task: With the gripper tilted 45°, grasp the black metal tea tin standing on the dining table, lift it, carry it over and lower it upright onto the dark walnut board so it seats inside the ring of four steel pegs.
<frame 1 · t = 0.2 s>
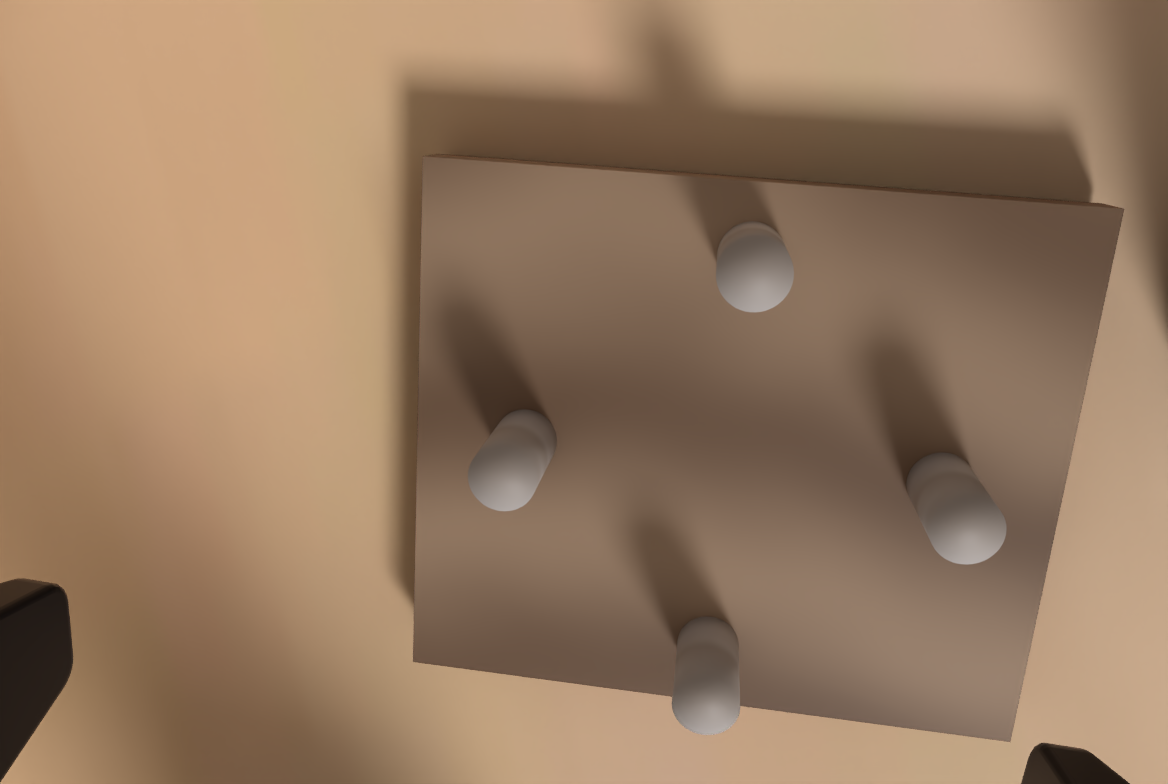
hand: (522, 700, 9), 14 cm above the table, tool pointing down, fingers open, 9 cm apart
peg board: (728, 443, 23), on the table
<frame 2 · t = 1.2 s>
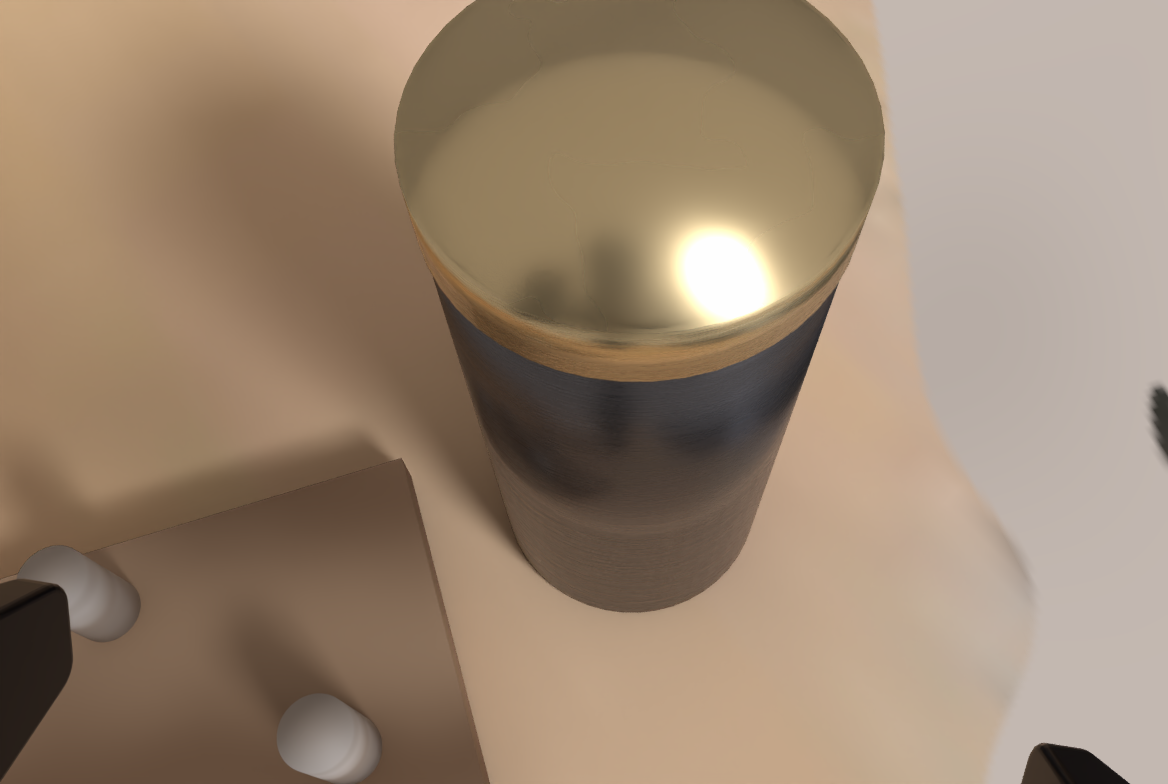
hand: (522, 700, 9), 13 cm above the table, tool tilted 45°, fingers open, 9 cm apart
tea tin: (630, 489, 24), on the table
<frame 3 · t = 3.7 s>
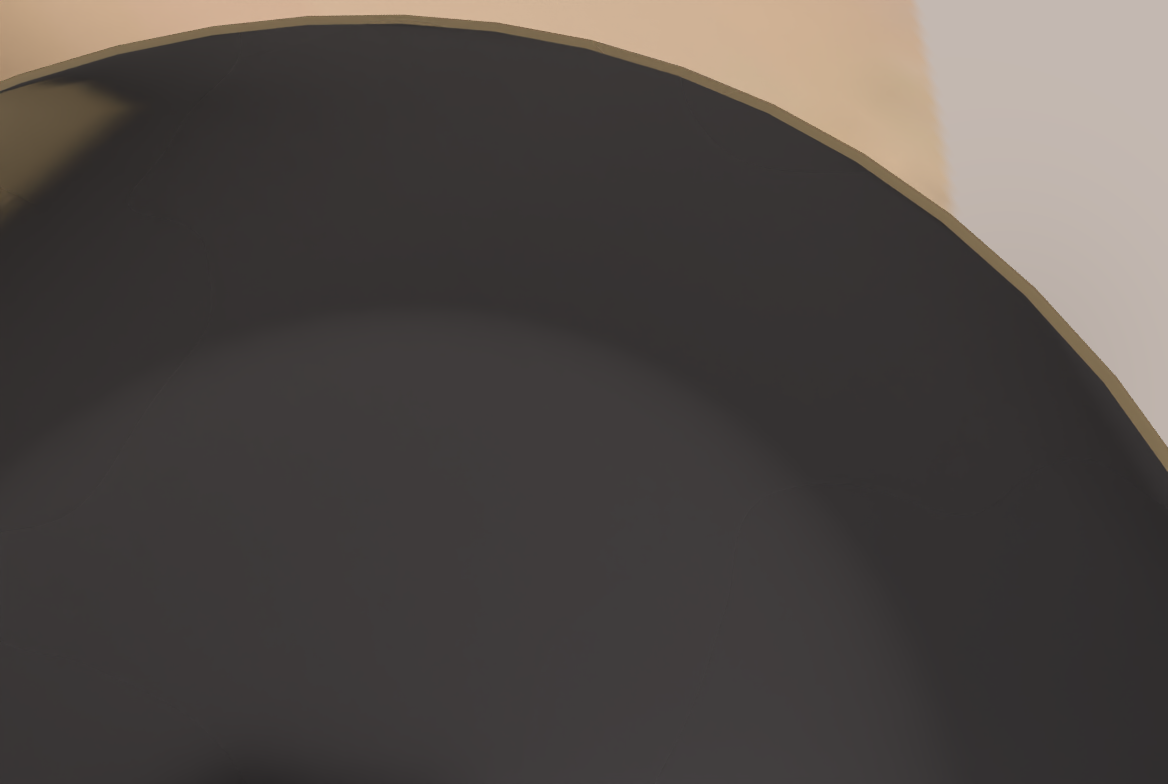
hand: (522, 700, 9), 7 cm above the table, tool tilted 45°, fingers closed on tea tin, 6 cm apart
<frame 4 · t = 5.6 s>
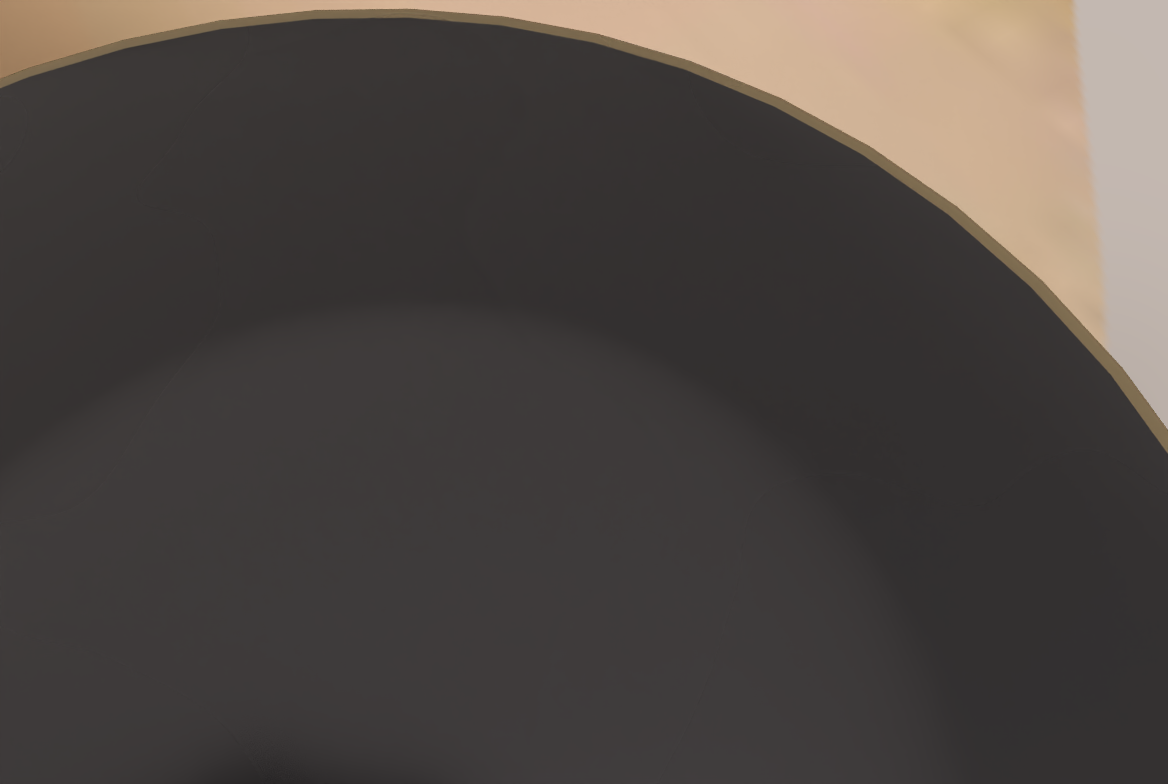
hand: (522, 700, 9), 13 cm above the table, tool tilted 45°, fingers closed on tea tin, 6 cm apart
when the fingers open (9 cm above the table, at t = 7.8 s): tea tin drops 1 cm, resting on peg board.
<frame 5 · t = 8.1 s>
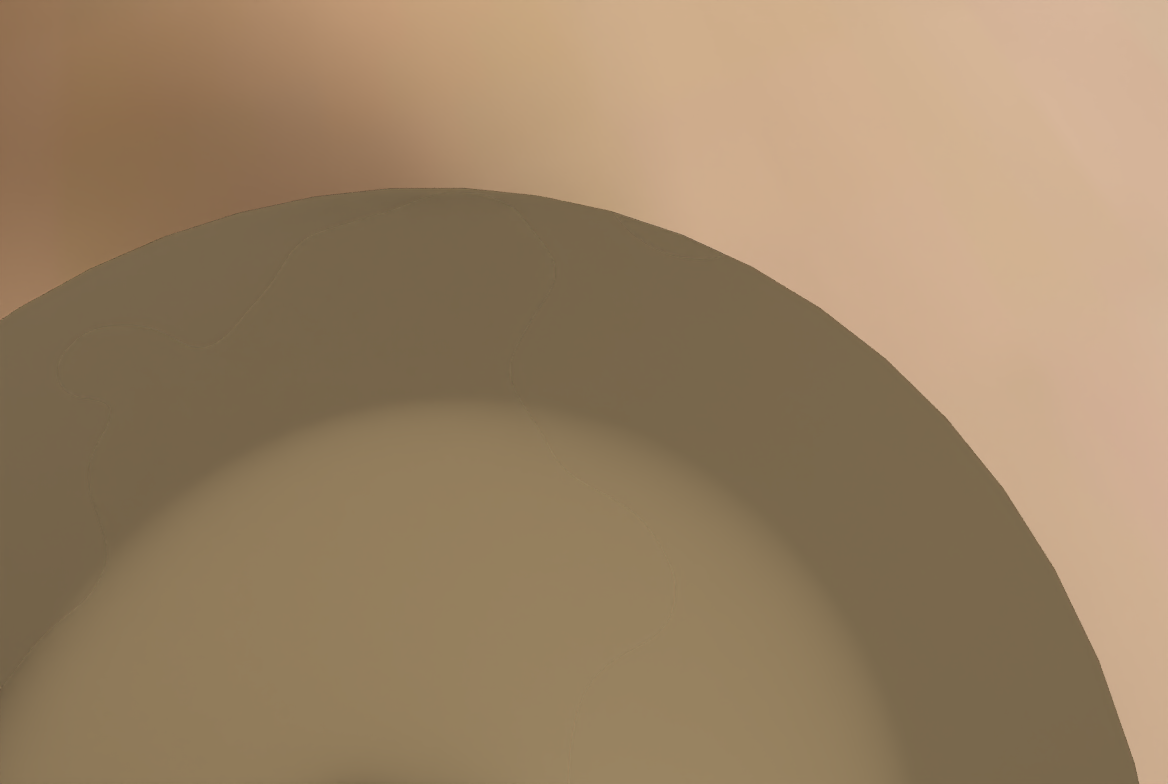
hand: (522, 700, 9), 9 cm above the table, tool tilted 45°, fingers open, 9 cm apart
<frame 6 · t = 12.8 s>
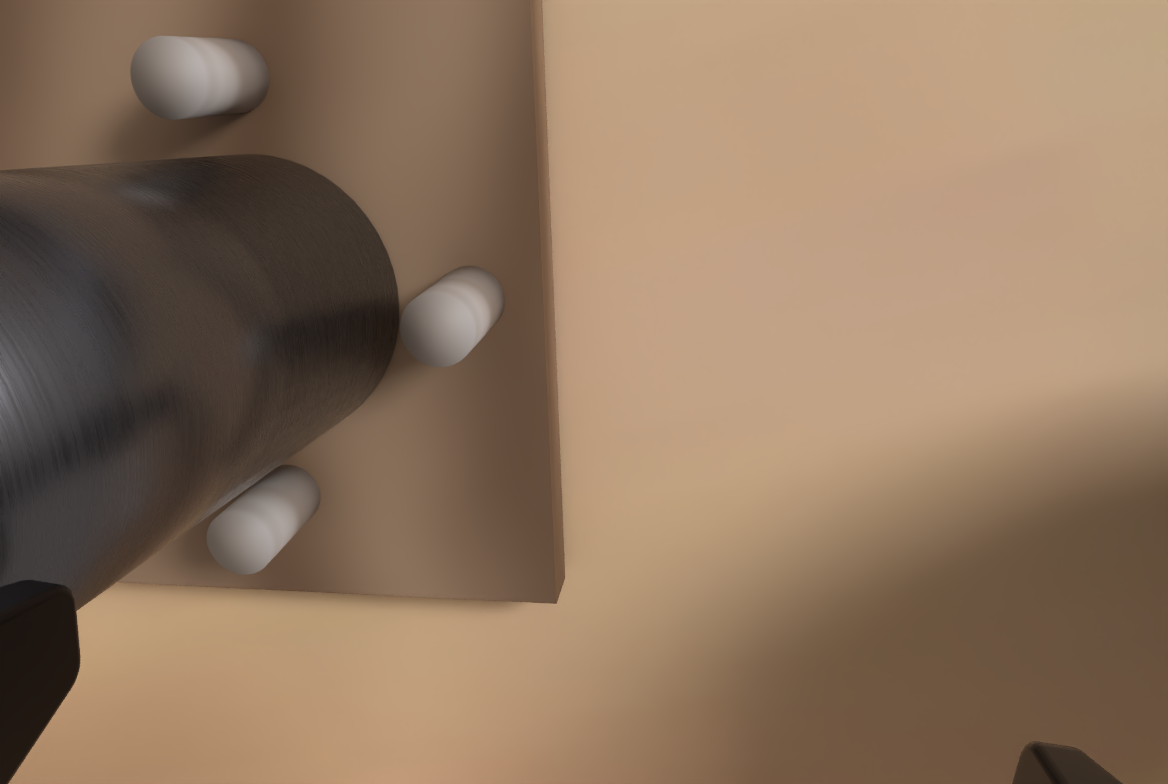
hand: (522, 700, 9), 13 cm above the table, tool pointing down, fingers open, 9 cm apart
peg board: (289, 286, 22), on the table
tea tin: (263, 300, 21), point 1 cm above the table, touching gripper, peg board
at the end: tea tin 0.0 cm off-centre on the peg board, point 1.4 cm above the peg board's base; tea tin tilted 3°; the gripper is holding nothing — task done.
